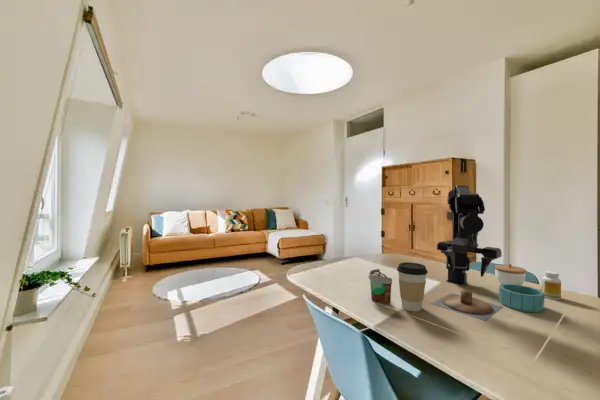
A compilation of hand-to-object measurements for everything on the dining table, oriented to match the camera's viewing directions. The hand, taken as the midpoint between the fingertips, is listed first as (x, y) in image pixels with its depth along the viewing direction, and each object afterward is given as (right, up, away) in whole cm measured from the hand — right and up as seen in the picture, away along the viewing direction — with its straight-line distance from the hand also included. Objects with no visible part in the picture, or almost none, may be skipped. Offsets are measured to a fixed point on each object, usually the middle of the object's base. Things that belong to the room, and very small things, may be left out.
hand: (466, 273), depth 95 cm
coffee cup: (-20, -12, -2) cm, 23 cm away
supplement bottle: (+38, -12, +9) cm, 41 cm away
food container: (-30, -12, +6) cm, 33 cm away
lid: (0, -11, 0) cm, 11 cm away
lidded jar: (+32, -12, +22) cm, 41 cm away
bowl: (+19, -12, 0) cm, 22 cm away
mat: (0, -12, 0) cm, 12 cm away
